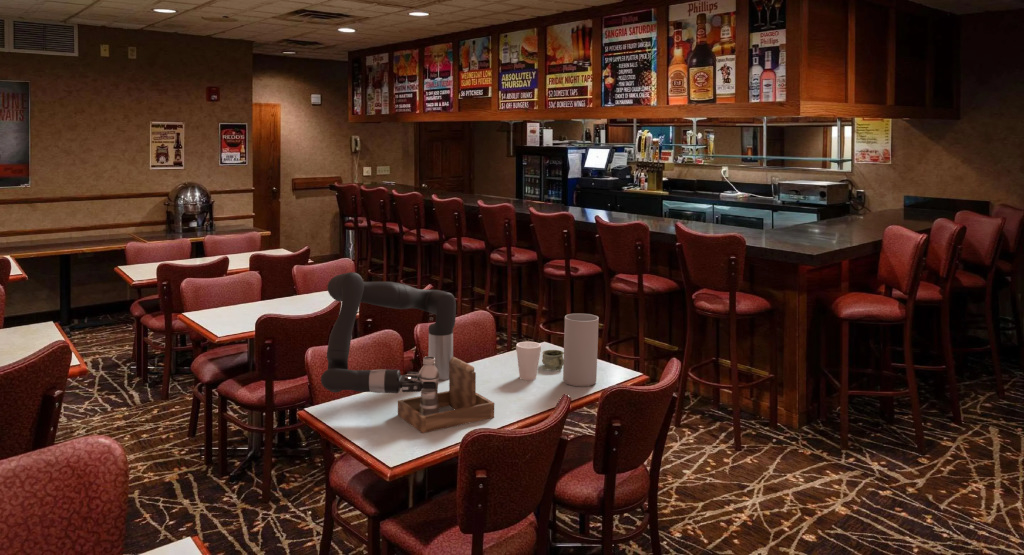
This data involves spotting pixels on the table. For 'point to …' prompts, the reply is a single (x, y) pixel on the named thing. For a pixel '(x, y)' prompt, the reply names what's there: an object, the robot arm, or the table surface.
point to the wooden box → (450, 402)
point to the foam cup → (528, 359)
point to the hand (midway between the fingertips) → (436, 381)
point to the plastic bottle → (429, 395)
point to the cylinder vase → (580, 349)
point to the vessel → (553, 359)
